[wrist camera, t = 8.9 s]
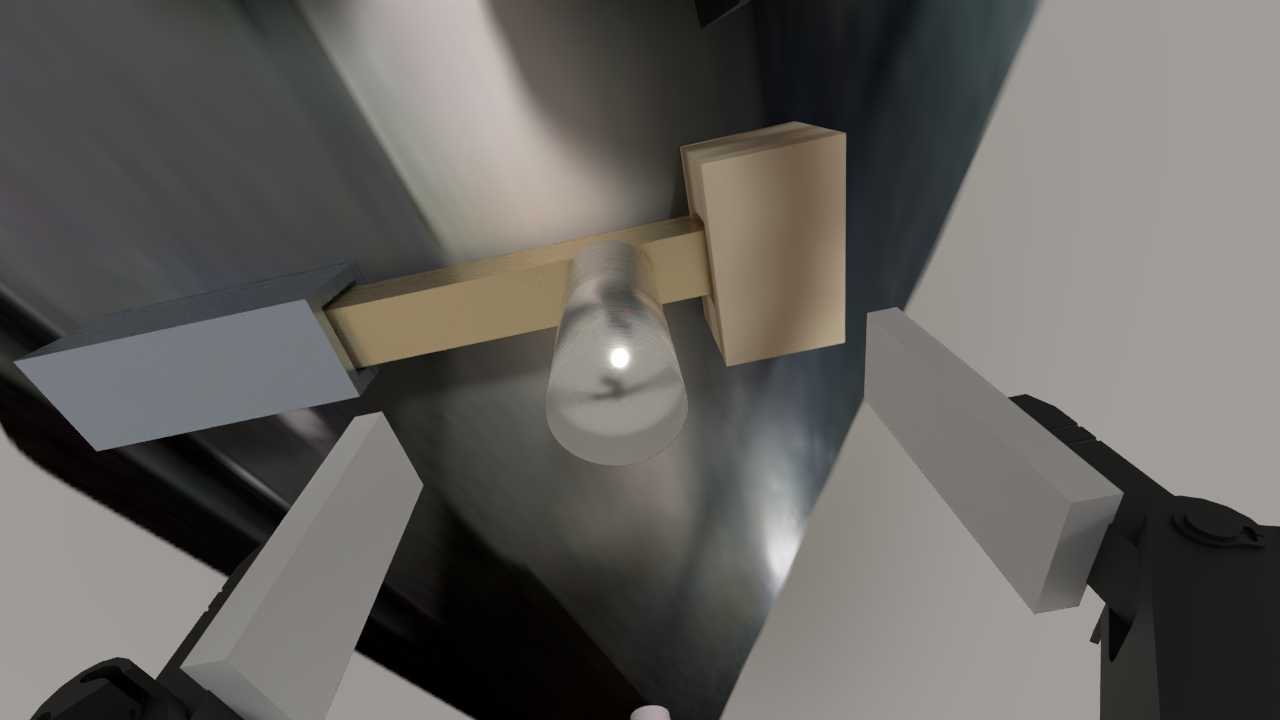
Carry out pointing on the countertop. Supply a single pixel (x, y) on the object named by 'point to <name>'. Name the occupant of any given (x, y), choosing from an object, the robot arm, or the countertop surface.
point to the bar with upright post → (587, 327)
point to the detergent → (715, 10)
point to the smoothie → (650, 713)
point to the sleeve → (202, 361)
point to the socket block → (772, 238)
